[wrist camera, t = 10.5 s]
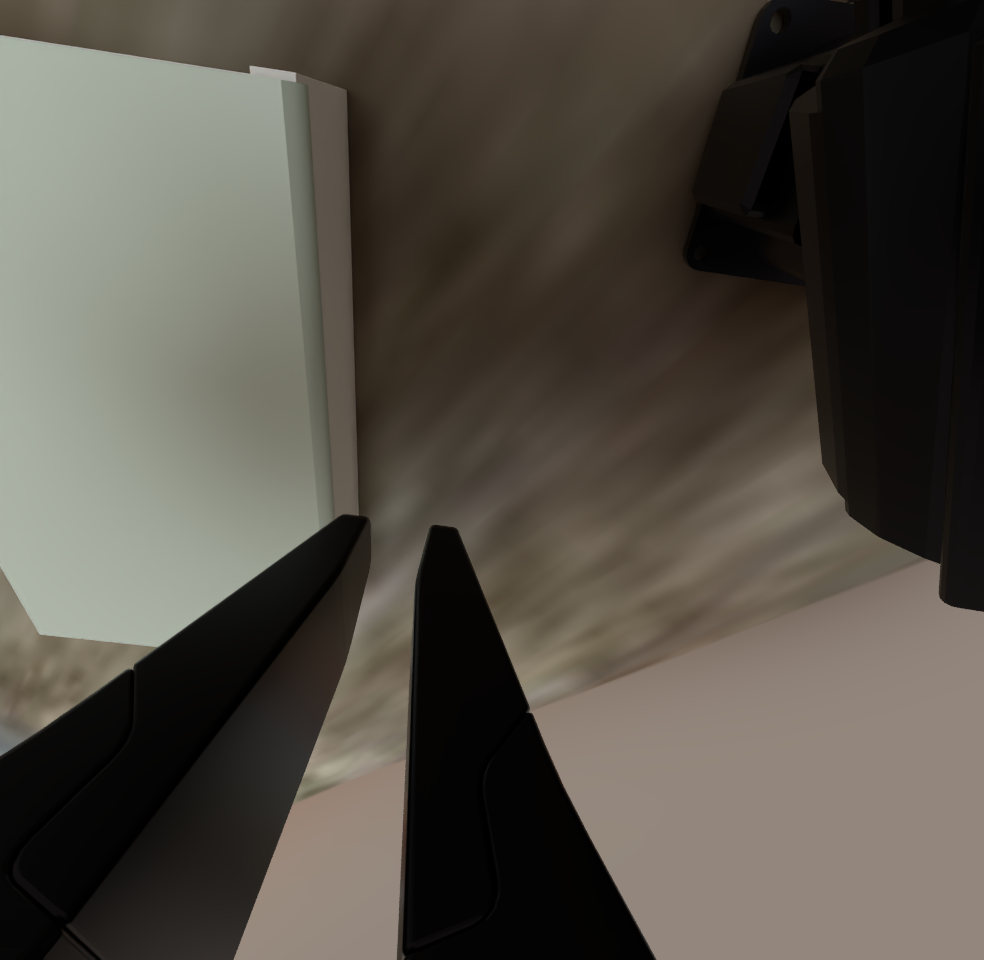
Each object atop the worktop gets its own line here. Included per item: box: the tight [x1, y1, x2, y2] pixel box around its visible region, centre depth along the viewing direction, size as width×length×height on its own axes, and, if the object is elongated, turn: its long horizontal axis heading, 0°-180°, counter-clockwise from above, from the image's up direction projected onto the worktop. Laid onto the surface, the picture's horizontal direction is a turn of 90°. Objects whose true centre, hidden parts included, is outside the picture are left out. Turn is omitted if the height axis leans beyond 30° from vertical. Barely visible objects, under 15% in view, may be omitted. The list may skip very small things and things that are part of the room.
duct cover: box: [0, 36, 335, 647], centre depth 16 cm, size 12×20×1 cm, turn 173°
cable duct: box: [0, 35, 359, 519], centre depth 18 cm, size 12×20×4 cm, turn 173°
